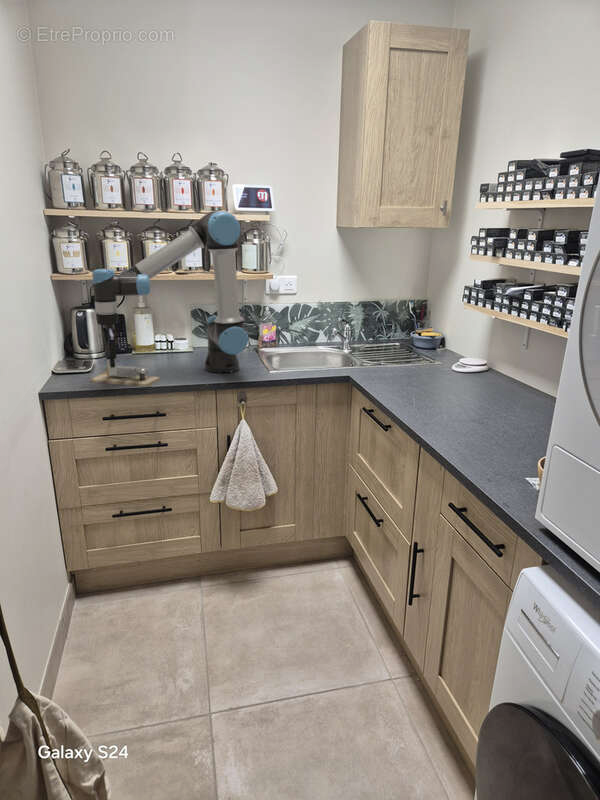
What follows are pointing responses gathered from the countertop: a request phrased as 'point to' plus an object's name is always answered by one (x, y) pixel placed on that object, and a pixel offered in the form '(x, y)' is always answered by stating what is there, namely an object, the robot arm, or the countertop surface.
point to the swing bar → (128, 371)
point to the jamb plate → (142, 380)
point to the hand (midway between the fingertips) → (112, 374)
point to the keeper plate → (109, 379)
